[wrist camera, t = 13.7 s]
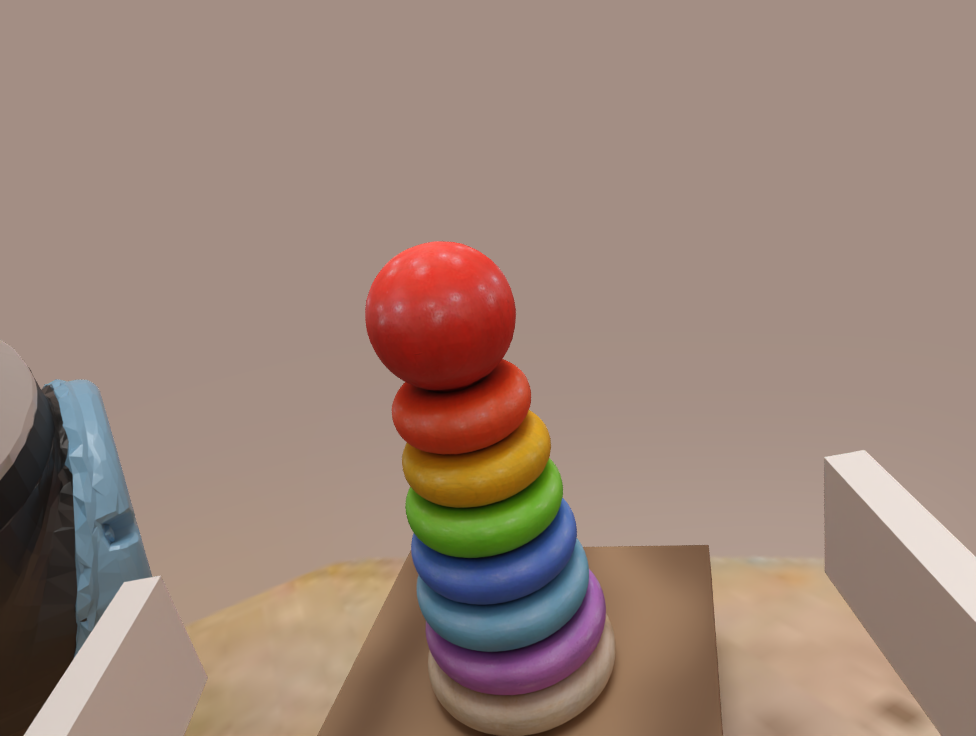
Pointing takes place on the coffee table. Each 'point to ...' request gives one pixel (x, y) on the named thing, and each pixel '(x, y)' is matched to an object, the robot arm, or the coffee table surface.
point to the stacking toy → (485, 502)
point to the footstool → (632, 684)
